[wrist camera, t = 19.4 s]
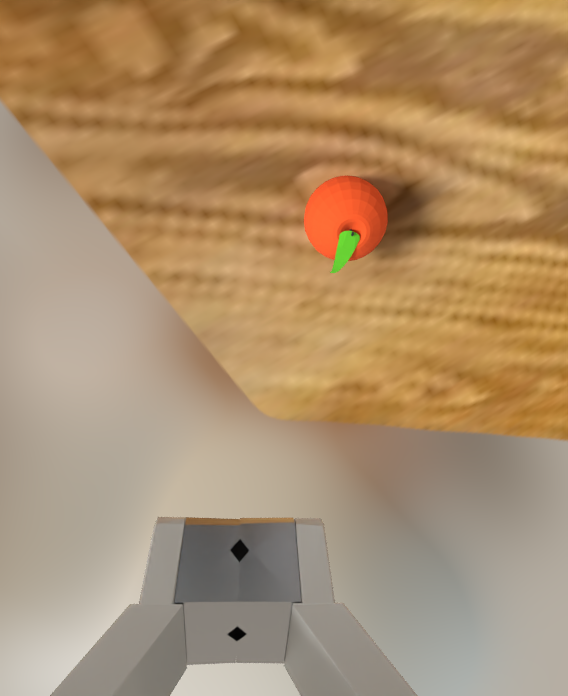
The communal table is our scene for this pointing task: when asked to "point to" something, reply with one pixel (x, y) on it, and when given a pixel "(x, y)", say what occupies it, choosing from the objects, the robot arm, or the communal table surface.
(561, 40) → the communal table surface
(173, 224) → the communal table surface
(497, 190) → the communal table surface
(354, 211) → the clementine
